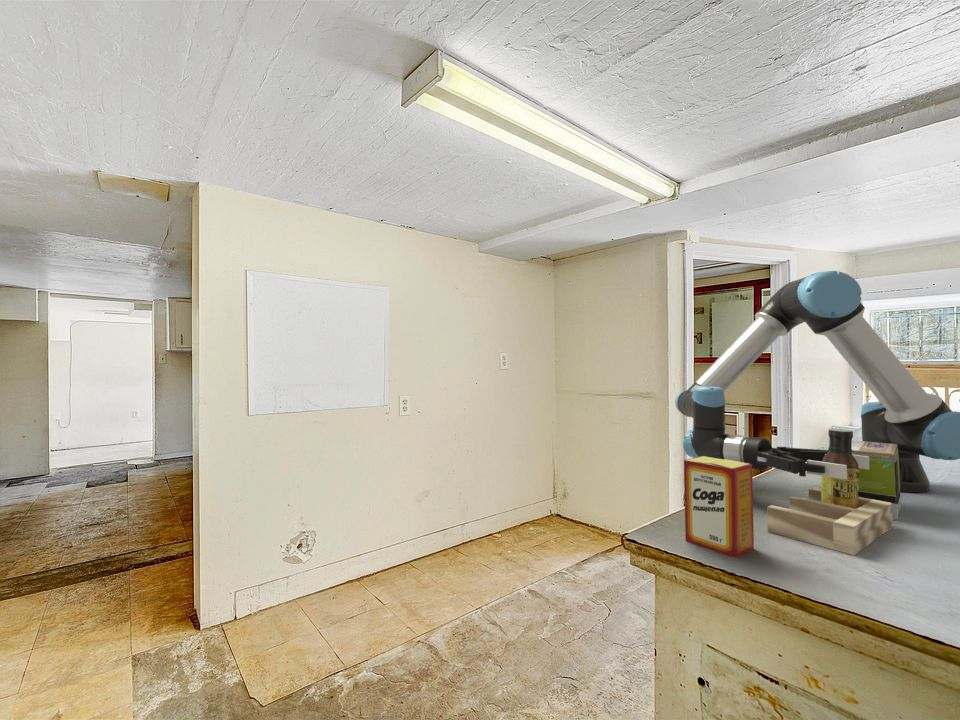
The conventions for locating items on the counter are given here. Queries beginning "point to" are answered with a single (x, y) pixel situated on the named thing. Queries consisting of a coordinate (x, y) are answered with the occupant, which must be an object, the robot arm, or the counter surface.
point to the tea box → (880, 473)
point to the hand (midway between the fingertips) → (858, 467)
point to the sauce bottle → (847, 489)
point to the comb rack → (831, 522)
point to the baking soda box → (719, 504)
